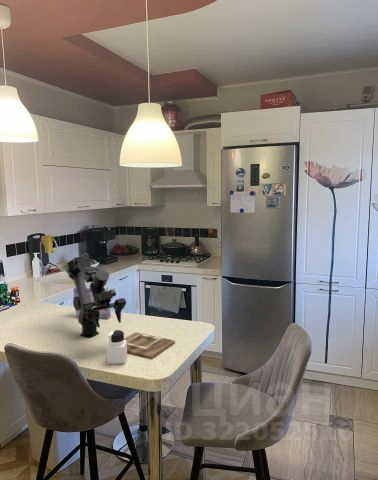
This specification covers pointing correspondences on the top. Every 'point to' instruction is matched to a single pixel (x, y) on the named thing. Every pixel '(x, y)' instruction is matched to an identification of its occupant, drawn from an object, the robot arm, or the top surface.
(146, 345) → the walnut stand
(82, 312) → the robot arm
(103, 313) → the cake pan box
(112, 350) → the medicine bottle
